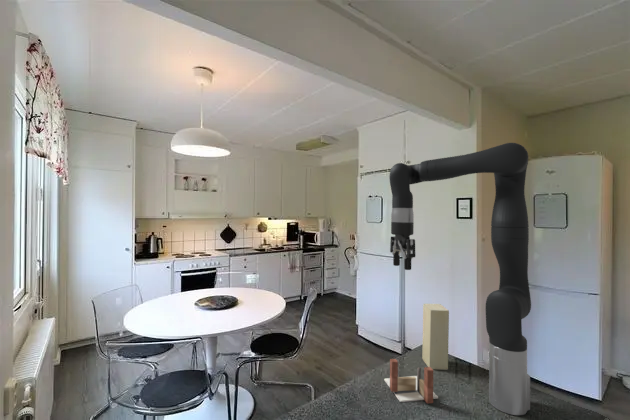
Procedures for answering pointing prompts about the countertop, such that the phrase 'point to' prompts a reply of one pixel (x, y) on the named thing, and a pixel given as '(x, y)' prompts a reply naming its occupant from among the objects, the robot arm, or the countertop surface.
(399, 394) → the card
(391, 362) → the toy gate half
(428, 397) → the brown piece
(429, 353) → the upright wooden block
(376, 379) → the countertop surface
